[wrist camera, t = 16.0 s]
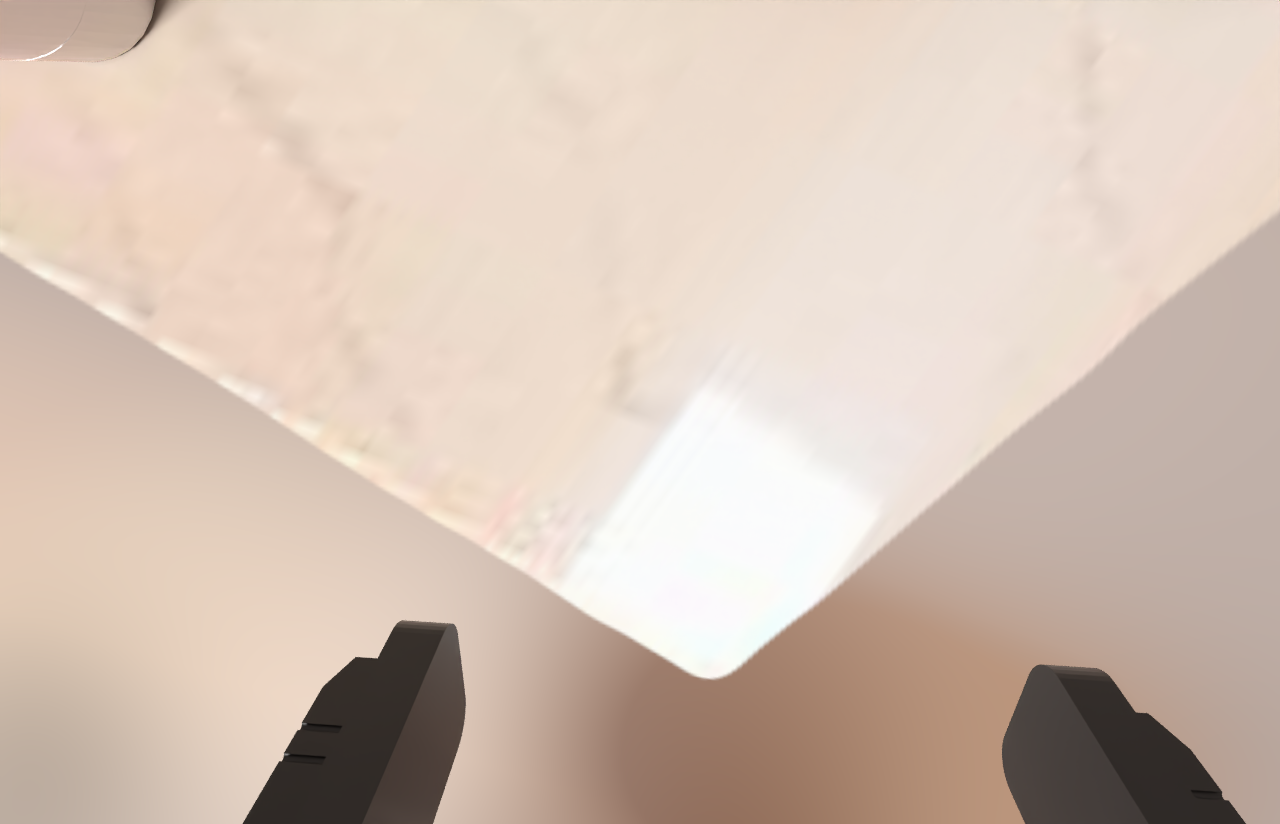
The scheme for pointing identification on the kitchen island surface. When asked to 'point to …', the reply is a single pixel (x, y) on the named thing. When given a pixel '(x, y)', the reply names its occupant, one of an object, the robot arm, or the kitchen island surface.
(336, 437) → the kitchen island surface
